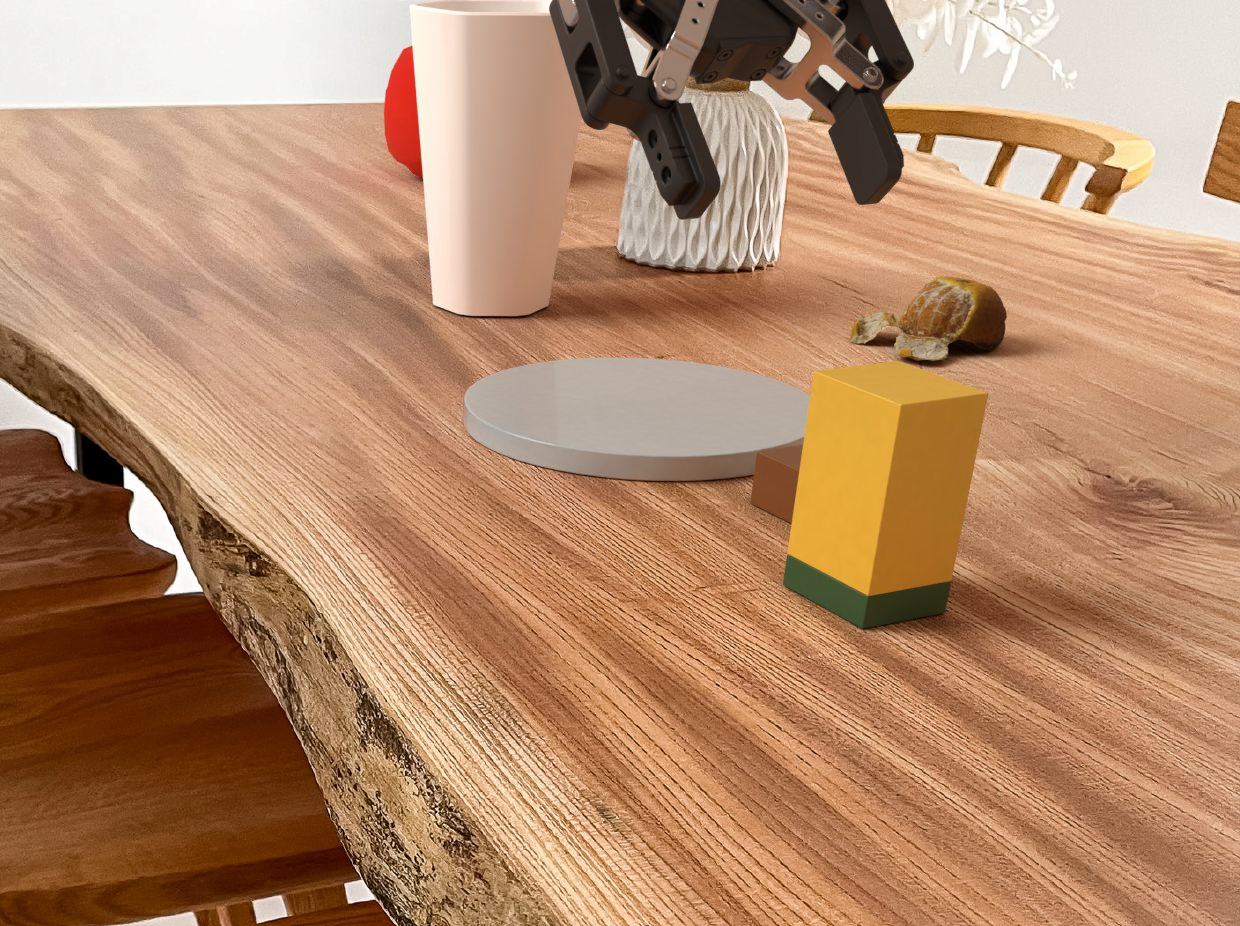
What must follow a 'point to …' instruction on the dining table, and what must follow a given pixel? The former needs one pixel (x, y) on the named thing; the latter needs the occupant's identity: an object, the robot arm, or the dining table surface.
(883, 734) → the dining table surface
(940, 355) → the fruit
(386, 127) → the tomato
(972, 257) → the dining table surface
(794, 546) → the sponge
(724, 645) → the dining table surface
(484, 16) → the cup
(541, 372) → the plate
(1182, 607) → the dining table surface
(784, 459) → the brown block
